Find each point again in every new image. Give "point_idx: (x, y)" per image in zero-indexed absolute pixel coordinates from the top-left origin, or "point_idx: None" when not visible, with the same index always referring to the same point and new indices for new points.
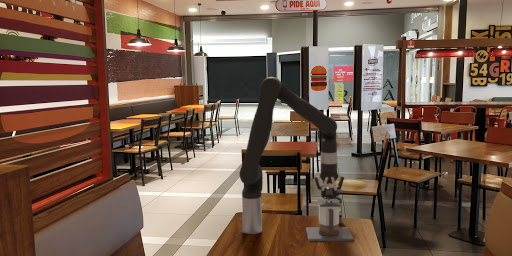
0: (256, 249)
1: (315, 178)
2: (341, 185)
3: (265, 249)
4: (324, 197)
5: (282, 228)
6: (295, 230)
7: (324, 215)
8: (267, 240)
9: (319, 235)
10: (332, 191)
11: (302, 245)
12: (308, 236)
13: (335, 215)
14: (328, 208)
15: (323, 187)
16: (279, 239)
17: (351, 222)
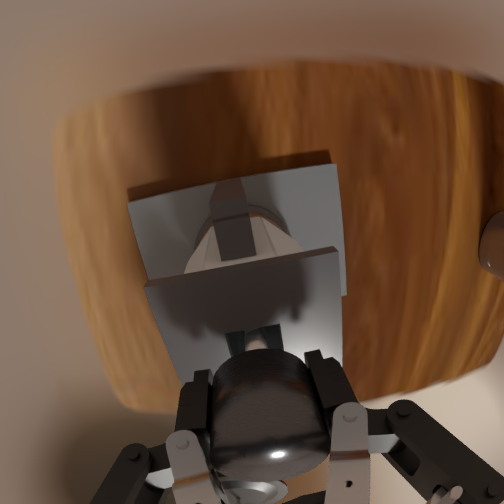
0: (481, 89)
1: (500, 485)
2: (109, 478)
3: (462, 85)
4: (306, 356)
5: (423, 282)
6: (383, 273)
7: (280, 242)
8: (467, 162)
9: (287, 210)
10: (222, 413)
11: (355, 115)
12: (338, 190)
13: (200, 255)
14: (255, 256)
15: (350, 437)
16: (437, 173)
17: (163, 383)
